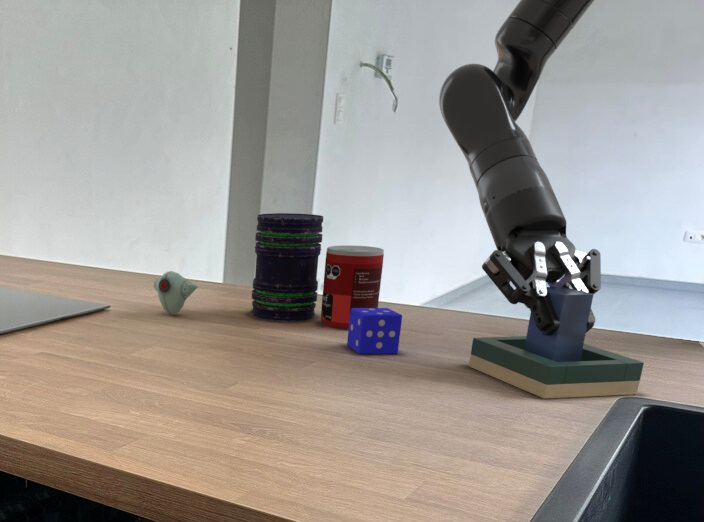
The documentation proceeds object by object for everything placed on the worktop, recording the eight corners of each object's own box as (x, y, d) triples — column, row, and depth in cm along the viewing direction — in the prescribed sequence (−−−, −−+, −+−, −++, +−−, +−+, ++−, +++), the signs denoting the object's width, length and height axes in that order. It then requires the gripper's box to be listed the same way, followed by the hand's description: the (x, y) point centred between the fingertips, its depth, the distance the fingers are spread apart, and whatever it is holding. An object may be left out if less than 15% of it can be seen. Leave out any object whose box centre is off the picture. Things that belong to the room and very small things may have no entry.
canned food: (326, 317, 131) (332, 244, 127) (379, 322, 128) (388, 247, 124) (314, 326, 125) (321, 249, 121) (371, 331, 121) (379, 252, 118)
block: (550, 356, 99) (563, 286, 96) (579, 366, 94) (594, 293, 92) (522, 357, 98) (534, 287, 96) (550, 367, 94) (564, 294, 91)
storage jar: (284, 307, 139) (291, 212, 134) (329, 317, 131) (338, 216, 126) (237, 313, 134) (242, 214, 129) (280, 324, 126) (288, 219, 121)
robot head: (199, 316, 131) (201, 272, 129) (182, 320, 129) (184, 275, 126) (159, 310, 137) (160, 267, 134) (142, 313, 134) (143, 269, 132)
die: (398, 354, 109) (402, 314, 107) (359, 354, 108) (363, 315, 107) (383, 345, 113) (388, 307, 112) (346, 345, 113) (350, 307, 111)
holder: (551, 363, 104) (556, 334, 103) (637, 394, 91) (644, 362, 90) (468, 366, 103) (472, 337, 101) (543, 398, 90) (549, 366, 88)
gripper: (480, 184, 96) (530, 312, 89) (593, 184, 98) (651, 309, 91) (448, 228, 103) (491, 351, 95) (554, 227, 105) (605, 347, 98)
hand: (569, 330), depth 93 cm, fingers closed on block, 3 cm apart
